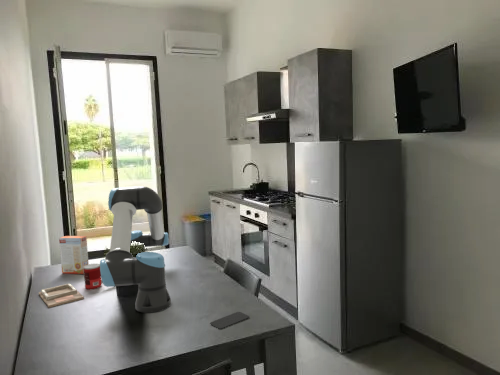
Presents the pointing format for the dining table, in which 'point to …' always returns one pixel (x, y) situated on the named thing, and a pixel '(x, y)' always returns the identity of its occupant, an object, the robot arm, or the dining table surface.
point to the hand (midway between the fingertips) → (94, 273)
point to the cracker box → (73, 254)
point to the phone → (229, 320)
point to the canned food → (92, 276)
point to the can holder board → (60, 295)
